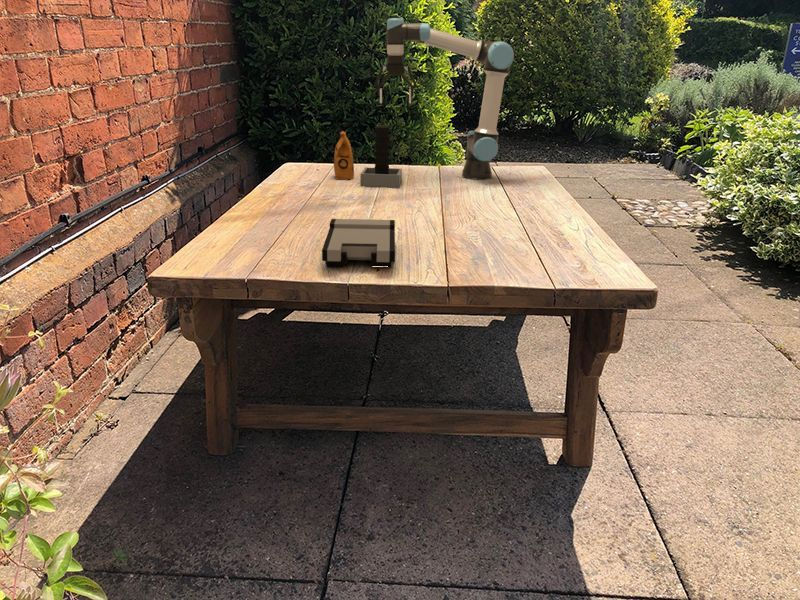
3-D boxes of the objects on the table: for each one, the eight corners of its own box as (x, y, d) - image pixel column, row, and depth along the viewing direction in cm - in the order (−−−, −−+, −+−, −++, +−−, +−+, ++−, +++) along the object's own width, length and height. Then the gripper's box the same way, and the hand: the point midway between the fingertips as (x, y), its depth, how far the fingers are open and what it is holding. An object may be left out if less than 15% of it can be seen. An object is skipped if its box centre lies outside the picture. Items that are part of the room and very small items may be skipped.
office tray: (322, 273, 195) (321, 245, 192) (331, 242, 225) (331, 218, 222) (394, 274, 195) (395, 247, 192) (394, 244, 225) (394, 219, 222)
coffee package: (332, 180, 328) (332, 133, 320) (334, 175, 340) (333, 130, 332) (353, 180, 328) (353, 134, 321) (354, 175, 340) (354, 131, 332)
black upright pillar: (387, 179, 328) (367, 180, 324) (387, 123, 318) (368, 123, 314) (395, 182, 319) (376, 184, 315) (396, 125, 310) (376, 125, 306)
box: (401, 181, 329) (402, 168, 327) (399, 188, 313) (399, 175, 311) (365, 179, 331) (365, 167, 328) (360, 186, 314) (360, 173, 312)
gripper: (422, 54, 312) (422, 102, 319) (368, 54, 313) (369, 102, 320) (422, 55, 305) (422, 103, 312) (367, 54, 306) (368, 103, 313)
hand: (395, 103), depth 316 cm, fingers open, 13 cm apart
